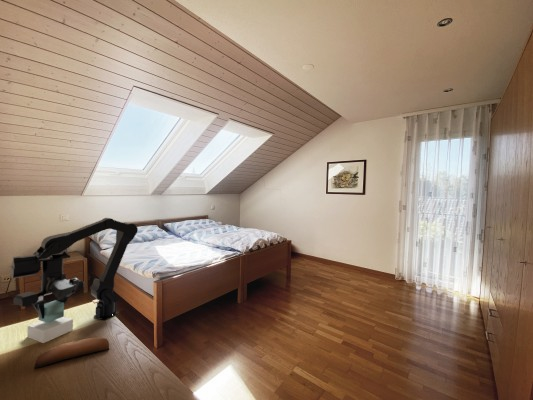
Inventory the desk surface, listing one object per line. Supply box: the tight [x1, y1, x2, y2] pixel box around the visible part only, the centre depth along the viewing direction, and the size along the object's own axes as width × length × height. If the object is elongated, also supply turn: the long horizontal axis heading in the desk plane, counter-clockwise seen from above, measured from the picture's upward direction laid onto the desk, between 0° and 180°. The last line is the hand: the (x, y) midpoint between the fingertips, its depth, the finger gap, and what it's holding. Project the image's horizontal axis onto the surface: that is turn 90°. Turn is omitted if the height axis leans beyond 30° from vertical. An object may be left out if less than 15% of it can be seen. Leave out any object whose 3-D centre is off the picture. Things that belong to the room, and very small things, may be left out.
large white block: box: [27, 316, 74, 344], centre depth 87 cm, size 9×9×4 cm
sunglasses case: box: [34, 337, 110, 369], centre depth 77 cm, size 18×7×7 cm, turn 123°
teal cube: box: [38, 299, 65, 323], centre depth 87 cm, size 5×5×5 cm
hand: (51, 315), depth 87 cm, fingers closed on teal cube, 5 cm apart
